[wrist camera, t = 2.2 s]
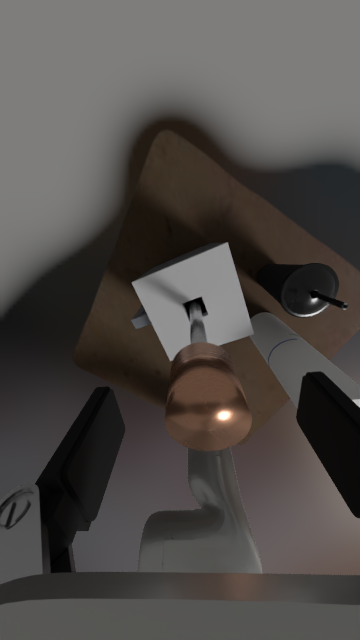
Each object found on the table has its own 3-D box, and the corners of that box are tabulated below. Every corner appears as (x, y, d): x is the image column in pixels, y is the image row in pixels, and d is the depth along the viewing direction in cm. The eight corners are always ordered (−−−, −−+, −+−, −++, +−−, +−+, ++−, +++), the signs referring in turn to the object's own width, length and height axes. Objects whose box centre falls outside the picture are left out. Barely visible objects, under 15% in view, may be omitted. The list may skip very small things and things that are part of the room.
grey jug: (210, 243, 37) (227, 242, 21) (228, 298, 41) (254, 334, 25) (138, 273, 39) (104, 293, 23) (161, 322, 43) (146, 368, 27)
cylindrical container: (245, 314, 42) (317, 402, 19) (279, 309, 41) (396, 395, 18) (247, 342, 44) (311, 450, 21) (278, 338, 44) (380, 445, 21)
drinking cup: (270, 248, 36) (354, 252, 18) (297, 272, 38) (400, 299, 19) (242, 280, 39) (291, 312, 20) (268, 301, 40) (337, 350, 22)
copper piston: (211, 256, 28) (290, 300, 6) (229, 310, 31) (322, 462, 9) (156, 279, 29) (72, 375, 8) (178, 328, 32) (159, 493, 11)
